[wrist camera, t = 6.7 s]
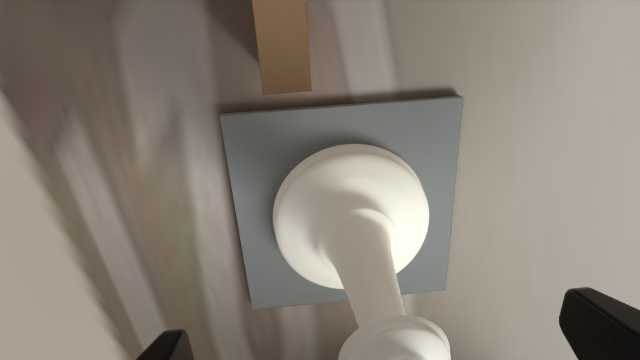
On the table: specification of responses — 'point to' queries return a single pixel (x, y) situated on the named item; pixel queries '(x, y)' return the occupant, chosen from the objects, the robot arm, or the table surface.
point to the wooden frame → (282, 45)
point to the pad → (324, 132)
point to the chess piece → (360, 244)
